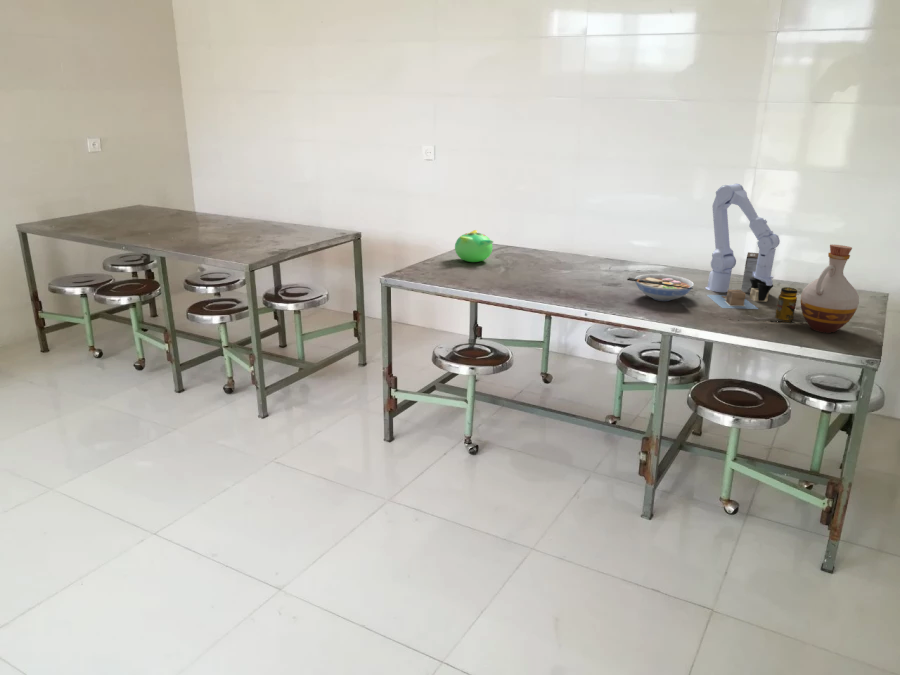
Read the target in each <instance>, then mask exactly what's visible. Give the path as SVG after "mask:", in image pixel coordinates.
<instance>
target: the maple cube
mask: <svg viewBox="0 0 900 675" xmlns="http://www.w3.org/2000/svg"><path fill="white" fill-rule="evenodd" d="M769 293H770V291H769V292H768V294H767V296H766V298H765V300H764V301H763V302H766V303H768V299H769V295H770V294H769ZM758 294H759V290H758V288H751V292H750V293H749V299H750V300H752V301H754V302H760V301H759V300H758Z"/></svg>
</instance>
